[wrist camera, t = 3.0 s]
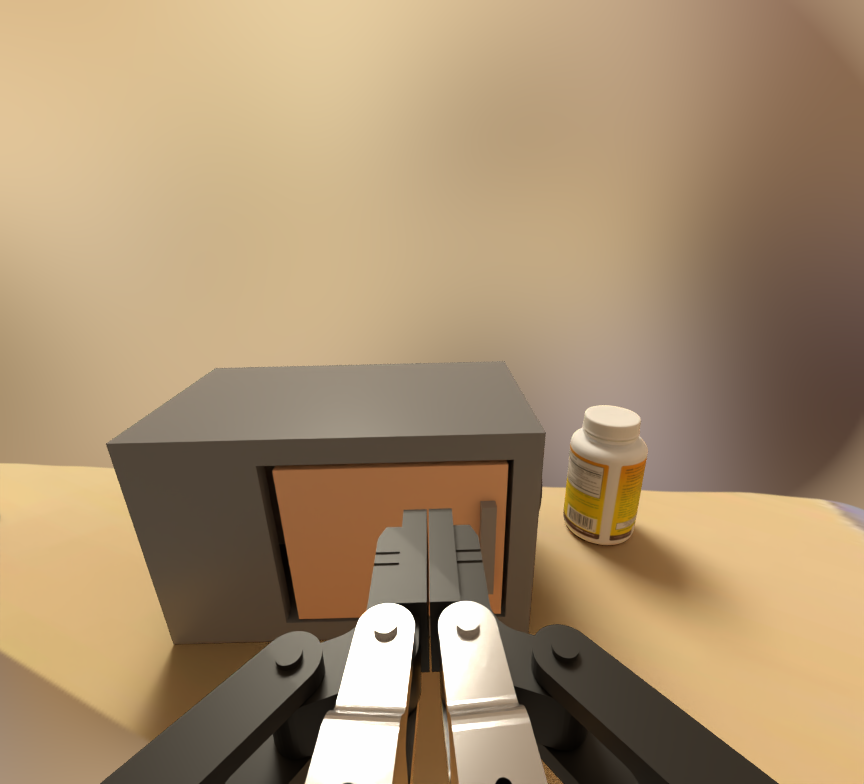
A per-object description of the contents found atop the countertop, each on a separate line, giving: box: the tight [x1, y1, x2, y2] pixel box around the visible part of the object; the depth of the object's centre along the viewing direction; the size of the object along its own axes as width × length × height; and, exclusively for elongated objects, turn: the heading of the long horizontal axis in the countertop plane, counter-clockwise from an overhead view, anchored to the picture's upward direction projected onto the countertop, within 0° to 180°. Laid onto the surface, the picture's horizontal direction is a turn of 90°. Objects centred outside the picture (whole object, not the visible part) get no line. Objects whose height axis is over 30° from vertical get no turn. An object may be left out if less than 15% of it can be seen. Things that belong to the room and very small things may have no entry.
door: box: [272, 460, 508, 619], centre depth 24 cm, size 12×2×10 cm, turn 91°
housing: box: [106, 361, 546, 644], centre depth 30 cm, size 23×12×14 cm, turn 91°
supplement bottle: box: [564, 405, 648, 545], centre depth 34 cm, size 6×6×10 cm
